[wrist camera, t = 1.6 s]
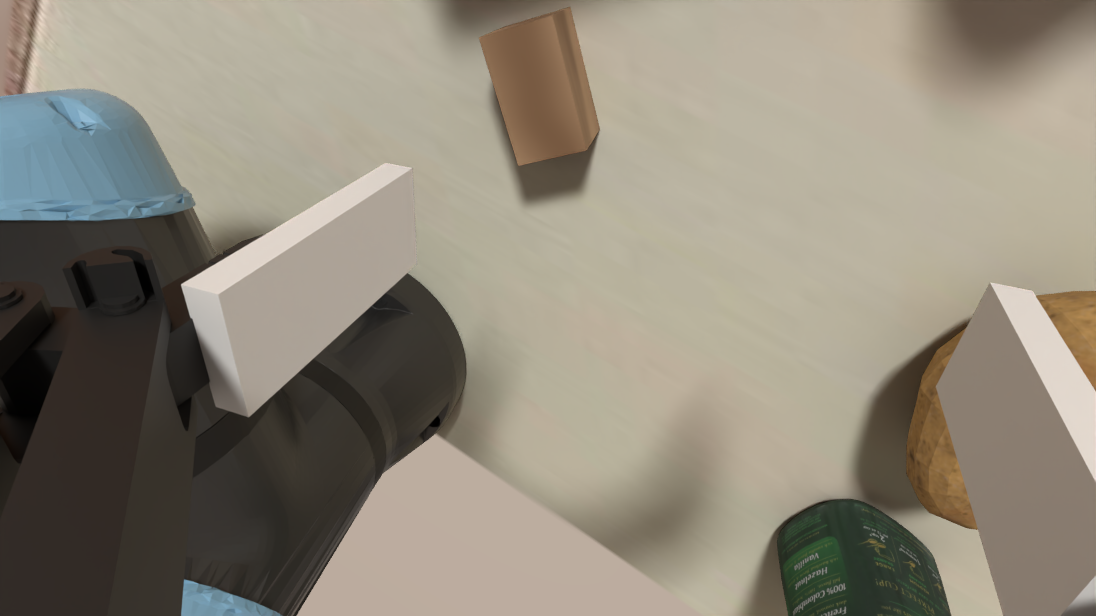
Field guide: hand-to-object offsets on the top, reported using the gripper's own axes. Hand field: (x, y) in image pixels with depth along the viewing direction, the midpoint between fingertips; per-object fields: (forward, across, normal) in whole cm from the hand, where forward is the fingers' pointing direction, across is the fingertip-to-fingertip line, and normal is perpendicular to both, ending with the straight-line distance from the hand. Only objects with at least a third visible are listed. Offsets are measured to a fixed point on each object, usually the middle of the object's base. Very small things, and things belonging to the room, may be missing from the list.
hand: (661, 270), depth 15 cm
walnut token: (+19, +9, +1) cm, 21 cm away
